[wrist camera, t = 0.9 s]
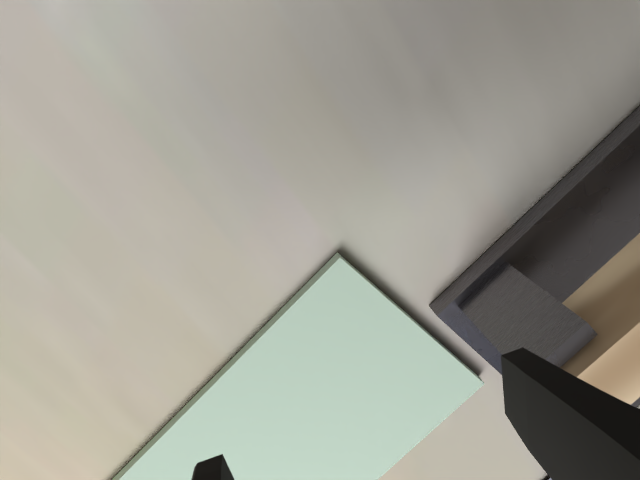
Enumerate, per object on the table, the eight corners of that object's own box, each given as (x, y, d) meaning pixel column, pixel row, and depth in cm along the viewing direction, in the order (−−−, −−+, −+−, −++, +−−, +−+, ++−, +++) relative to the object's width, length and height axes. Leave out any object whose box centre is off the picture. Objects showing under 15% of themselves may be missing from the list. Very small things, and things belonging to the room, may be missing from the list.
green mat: (478, 376, 26) (484, 383, 25) (228, 602, 29) (228, 613, 28) (337, 252, 22) (340, 257, 21) (61, 529, 25) (58, 540, 24)
